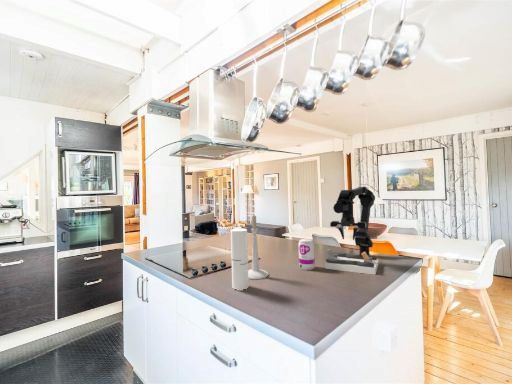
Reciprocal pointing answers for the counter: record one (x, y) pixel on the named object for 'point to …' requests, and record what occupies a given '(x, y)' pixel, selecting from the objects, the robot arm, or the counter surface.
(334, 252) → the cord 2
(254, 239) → the candlestick
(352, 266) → the white tray
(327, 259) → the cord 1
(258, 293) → the counter surface
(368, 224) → the robot arm
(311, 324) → the counter surface
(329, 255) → the paddle grey
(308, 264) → the supplement can
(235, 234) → the cylindrical container
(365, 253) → the orange brick
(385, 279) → the counter surface
